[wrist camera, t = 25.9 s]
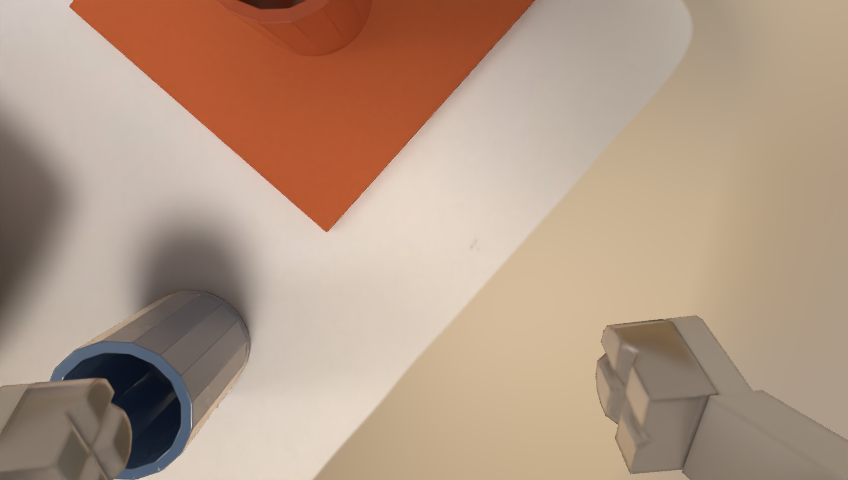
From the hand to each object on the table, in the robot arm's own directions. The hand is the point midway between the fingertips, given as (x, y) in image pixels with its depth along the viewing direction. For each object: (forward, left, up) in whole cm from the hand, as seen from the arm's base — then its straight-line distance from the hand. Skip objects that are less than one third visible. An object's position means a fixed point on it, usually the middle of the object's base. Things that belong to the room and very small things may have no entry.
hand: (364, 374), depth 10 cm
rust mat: (+6, -12, -28) cm, 31 cm away
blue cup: (+13, +10, -28) cm, 32 cm away
